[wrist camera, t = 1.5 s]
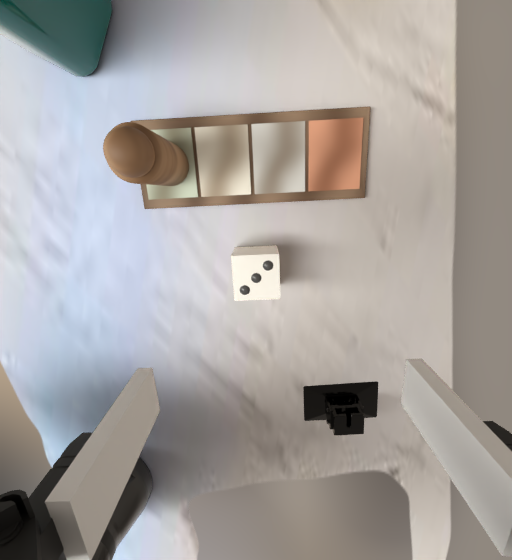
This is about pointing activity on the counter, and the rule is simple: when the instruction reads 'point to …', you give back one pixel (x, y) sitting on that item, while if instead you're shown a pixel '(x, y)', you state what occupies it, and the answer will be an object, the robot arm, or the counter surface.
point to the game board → (265, 157)
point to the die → (256, 273)
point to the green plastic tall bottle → (58, 30)
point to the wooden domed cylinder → (144, 156)
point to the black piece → (341, 405)
